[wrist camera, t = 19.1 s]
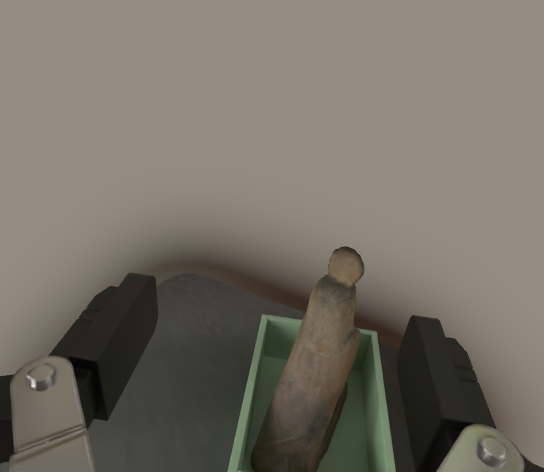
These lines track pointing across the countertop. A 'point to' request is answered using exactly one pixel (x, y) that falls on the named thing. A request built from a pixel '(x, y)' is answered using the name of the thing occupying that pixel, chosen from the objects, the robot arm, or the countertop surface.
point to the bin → (355, 414)
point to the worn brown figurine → (314, 375)
